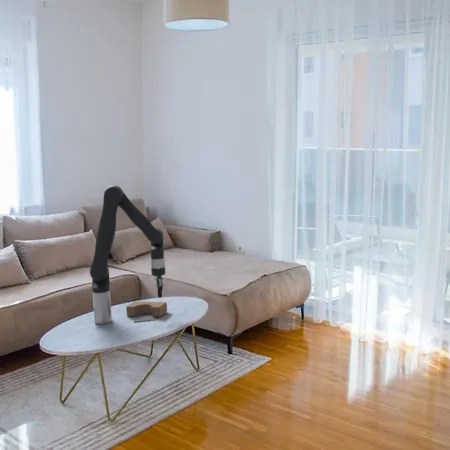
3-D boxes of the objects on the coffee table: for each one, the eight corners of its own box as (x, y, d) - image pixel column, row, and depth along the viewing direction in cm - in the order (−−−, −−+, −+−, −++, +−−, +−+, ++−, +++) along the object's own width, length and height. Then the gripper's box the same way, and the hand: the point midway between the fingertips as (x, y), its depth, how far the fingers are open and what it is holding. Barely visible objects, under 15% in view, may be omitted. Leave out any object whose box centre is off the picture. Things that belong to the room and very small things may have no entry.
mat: (134, 322, 320) (134, 321, 320) (132, 316, 331) (132, 315, 331) (156, 320, 323) (156, 319, 323) (154, 313, 333) (153, 313, 333)
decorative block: (159, 307, 324) (125, 306, 329) (160, 317, 325) (126, 316, 330) (166, 301, 334) (133, 300, 340) (167, 311, 335) (134, 310, 341)
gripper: (149, 264, 326) (151, 294, 329) (152, 269, 313) (154, 301, 316) (163, 262, 327) (165, 293, 330) (166, 268, 315) (168, 299, 318)
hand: (160, 297), depth 323 cm, fingers closed
